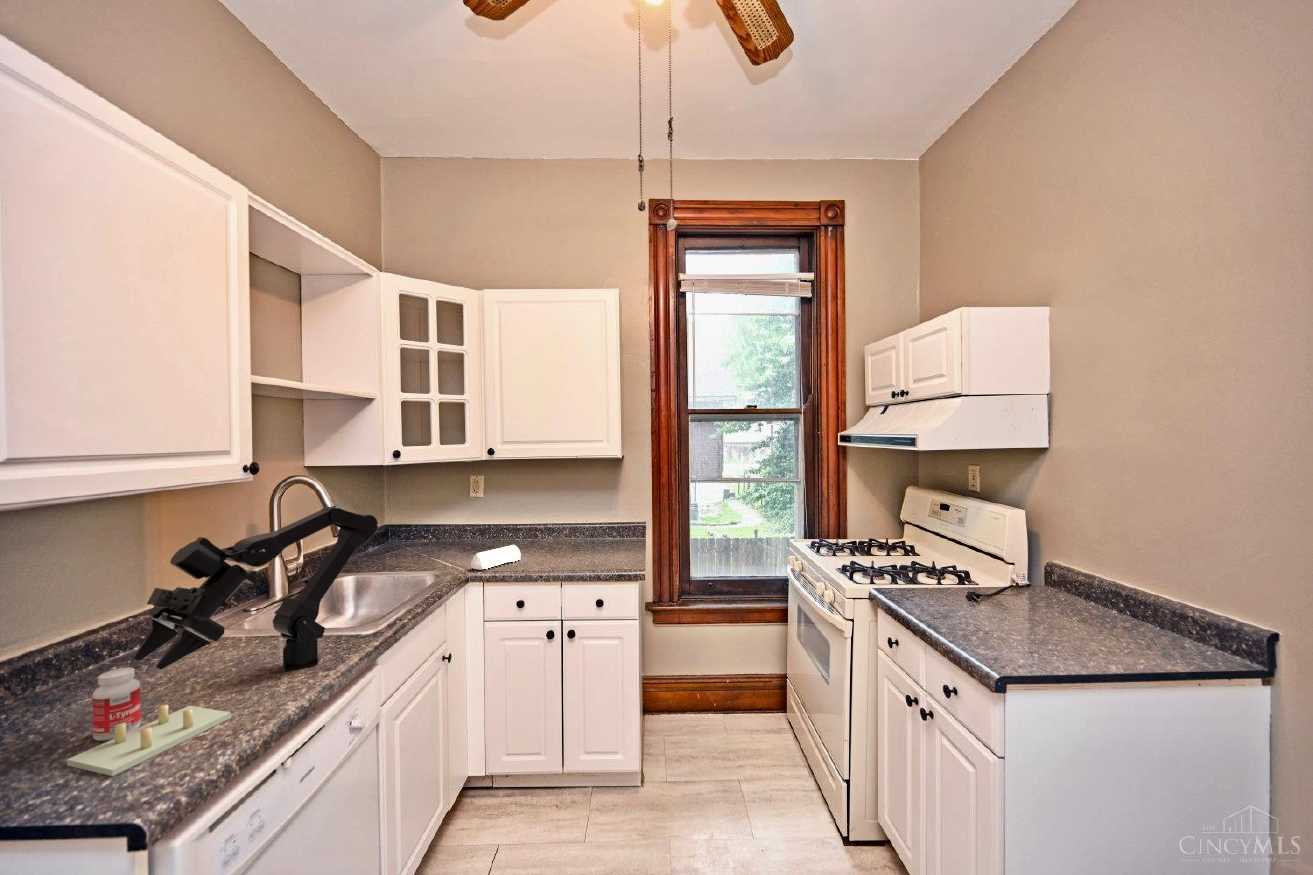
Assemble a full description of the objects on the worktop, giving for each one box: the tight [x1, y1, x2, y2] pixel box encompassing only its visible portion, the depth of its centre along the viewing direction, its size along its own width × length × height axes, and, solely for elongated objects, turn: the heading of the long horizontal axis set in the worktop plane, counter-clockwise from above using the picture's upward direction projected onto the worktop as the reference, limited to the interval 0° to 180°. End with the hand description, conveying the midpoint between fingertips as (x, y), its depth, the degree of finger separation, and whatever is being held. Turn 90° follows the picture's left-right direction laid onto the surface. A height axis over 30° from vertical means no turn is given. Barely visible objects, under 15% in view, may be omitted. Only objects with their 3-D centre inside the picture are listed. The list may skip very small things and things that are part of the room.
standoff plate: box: [66, 704, 232, 777], centre depth 94 cm, size 18×11×4 cm, turn 164°
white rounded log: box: [470, 544, 522, 570], centre depth 221 cm, size 7×7×24 cm
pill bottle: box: [91, 667, 141, 742], centre depth 97 cm, size 6×6×11 cm
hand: (146, 663), depth 100 cm, fingers open, 9 cm apart
